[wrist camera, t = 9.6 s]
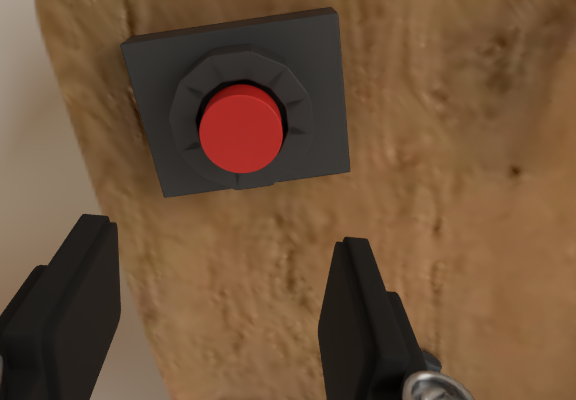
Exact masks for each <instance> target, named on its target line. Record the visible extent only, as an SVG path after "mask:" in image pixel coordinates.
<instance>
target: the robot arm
mask: <svg viewBox="0 0 576 400" xmlns="http://www.w3.org/2000/svg"><path fill="white" fill-rule="evenodd" d="M120 313H121V302H120V278H119V253H118V229H117V224H116V223H114V222H110V220H109V217H108V216H102V215H90V214H83V215H82V216H81V217H80V218H79V220H78V221H77V223H76V224H75V226H74V227H73V229H72V230H71V232H70V233H69V235H68V236H67V238H66V239H65V241H64V242H63V244H62V245H61V247H60V248H59V250H58V251H57V252H56V254H55V256H54V257H53V258H52V260H51V261H50V263H49V264H48V266H47V265H39V266H37V267H35V268H34V269H33V271H32V272H31V273H30V275H29V276H28V278H27V279H26V281H25V282H24V283H23V285H22V286H21V287H20V289H19V290H18V292H17V293H16V295H15V296H14V297H13V299H12V300H11V302H10V303H9V304H8V306H7V308H6V309H5V310H4V311H3V313H2V314H1V316H0V400H89V399H90V397H91V394H92V391H93V389H94V386H95V384H96V381H97V378H98V376H99V373H100V371H101V368H102V365H103V363H104V360H105V358H106V355H107V352H108V350H109V347H110V344H111V342H112V339H113V337H114V334H115V331H116V329H117V326H118V323H119V319H120ZM318 339H319V346H320V354H321V361H322V368H323V375H324V382H325V389H326V396H327V400H475V399H474V397H473V396H472V394H471V393H470V391H468V390H467V389H466V388H465V387H464V386H463V385H462V384H461V383H460V382H458V381H457V380H455V379H454V378H452V377H450V376H448V375H445V374H443V373H440V372H435V371H428V369H427V366H426V363H425V361H424V358H423V356H422V353H421V351H420V348H419V345H418V343H417V340H416V338H415V335H414V333H413V330H412V327H411V325H410V322H409V320H408V317H407V314H406V312H405V309H404V307H403V304H402V302H401V299H400V297H399V295H398V294H397V293H396V292H388V291H386V289H385V286H384V283H383V281H382V278H381V275H380V272H379V269H378V266H377V264H376V261H375V258H374V255H373V252H372V250H371V247H370V244H369V241H368V239H365V238H354V237H345V238H344V240H343V242H336V244H335V247H334V252H333V257H332V262H331V266H330V271H329V276H328V281H327V285H326V290H325V295H324V300H323V305H322V309H321V314H320V319H319V324H318Z"/></svg>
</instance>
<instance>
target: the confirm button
mask: <svg viewBox="0 0 576 400" xmlns="http://www.w3.org/2000/svg"><path fill="white" fill-rule="evenodd" d="M199 137H200V142H201V145H202V148H203V150H204V152H205V153H206V155H207V156H208V157H209V159H210V160H211V161H212V162H213V163H215V164H216V165H217V166H219V167H221V168H222V169H225V170H227V171H230V172H235V173H249V172H254V171H257V170H259V169H261V168H263V167H265V166H267V165H268V164H269V163H270V162H271V161H272V160H273V159H274V158H275V157H276V155H277V154H278V152H279V150H280V147H281V144H282V137H283V133H282V122H281V115H280V111H279V109H278V106H277V105H276V103H275V101H274V100H273V99H272V98H271V97H270V95H268V94H267V93H266V92H264V91H263V90H261V89H259V88H257V87H254V86H251V85H245V84H238V85H232V86H228V87H225V88H224V89H222V90H220V91H219V92H217V93H216V94H215V95H214V96H213V97H212V98H211V99H210V101H209V102H208V104H207V106H206V109H205V111H204V114H203V117H202V120H201V123H200V129H199Z"/></svg>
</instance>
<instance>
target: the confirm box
mask: <svg viewBox="0 0 576 400" xmlns="http://www.w3.org/2000/svg"><path fill="white" fill-rule="evenodd" d="M120 47H121V50H122V53H123V57H124V60H125V64H126V67H127V71H128V74H129V78H130V81H131V85H132V88H133V91H134V95H135V98H136V102H137V105H138V109H139V112H140V116H141V119H142V123H143V126H144V129H145V133H146V136H147V140H148V143H149V147H150V150H151V154H152V157H153V161H154V164H155V167H156V171H157V174H158V178H159V181H160V185H161V188H162V192H163V195H164V197H165V198H167V197H174V196H181V195H189V194H196V193H203V192H210V191H217V190H224V189H235V190H236V189H237V190H242V189H249V188H256V187H263V186H270V185H273V184H274V183H276V182H282V181H289V180H296V179H303V178H311V177H318V176H325V175H332V174H339V173H346V172H350V160H349V147H348V135H347V122H346V109H345V96H344V83H343V70H342V57H341V44H340V31H339V18H338V13H337V12H336V11H335V10H334V9H333V8H332V7H328V8H321V9H315V10H308V11H301V12H294V13H287V14H281V15H274V16H267V17H260V18H253V19H247V20H240V21H233V22H226V23H219V24H213V25H206V26H199V27H192V28H185V29H179V30H172V31H165V32H158V33H151V34H145V35H138V36H132V37H131V38H129V39H128V40H126V41H125V42H123V43H122V44H121V45H120ZM238 84H245V85H251V86H254V87H257V88H259V89H261V90H263V91H264V92H266V93H267V94H268V95H270V97H271V98H272V99H273V100H274V101H275V103H276V105H277V106H278V109H279V111H280V115H281V122H282V133H283V137H282V144H281V147H280V150H279V152H278V154H277V155H276V157H275V158H274V159H273V160H272V161H271V162H270V163H269V164H268V165H267V166H265V167H263V168H261V169H259V170H257V171H254V172H249V173H235V172H230V171H227V170H225V169H222V168H221V167H219V166H217V165H216V164H215V163H213V162H212V161H211V160H210V159H209V157H208V156H207V155H206V153H205V152H204V150H203V148H202V145H201V142H200V137H199V129H200V123H201V120H202V117H203V114H204V111H205V109H206V106H207V104H208V102H209V101H210V99H211V98H212V97H213V96H214V95H215V94H216V93H217V92H219V91H220V90H222V89H224V88H225V87H228V86H232V85H238Z"/></svg>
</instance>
